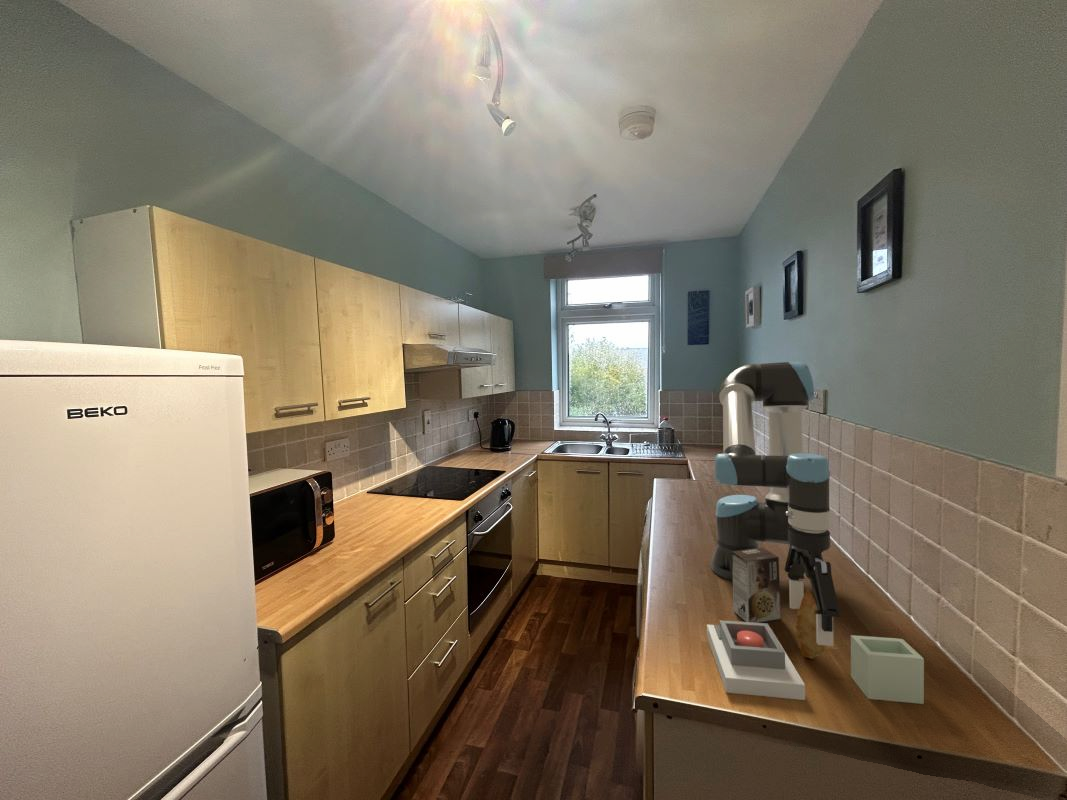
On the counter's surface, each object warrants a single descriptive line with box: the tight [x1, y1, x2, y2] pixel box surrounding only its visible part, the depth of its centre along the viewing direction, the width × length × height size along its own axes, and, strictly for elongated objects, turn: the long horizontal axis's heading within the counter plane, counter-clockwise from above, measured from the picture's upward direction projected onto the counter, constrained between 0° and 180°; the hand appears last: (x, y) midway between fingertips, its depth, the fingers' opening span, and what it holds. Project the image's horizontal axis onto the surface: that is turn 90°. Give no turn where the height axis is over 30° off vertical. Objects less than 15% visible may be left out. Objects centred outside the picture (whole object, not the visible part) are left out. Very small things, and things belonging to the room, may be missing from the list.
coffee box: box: [732, 547, 782, 623], centre depth 108 cm, size 9×6×16 cm
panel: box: [706, 619, 806, 701], centre depth 90 cm, size 18×14×6 cm
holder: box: [850, 634, 925, 705], centre depth 82 cm, size 6×9×9 cm, turn 79°
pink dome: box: [737, 631, 764, 648], centre depth 90 cm, size 5×5×3 cm
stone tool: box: [795, 588, 826, 659], centre depth 91 cm, size 5×2×15 cm, turn 72°
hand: (809, 625), depth 91 cm, fingers open, 13 cm apart
